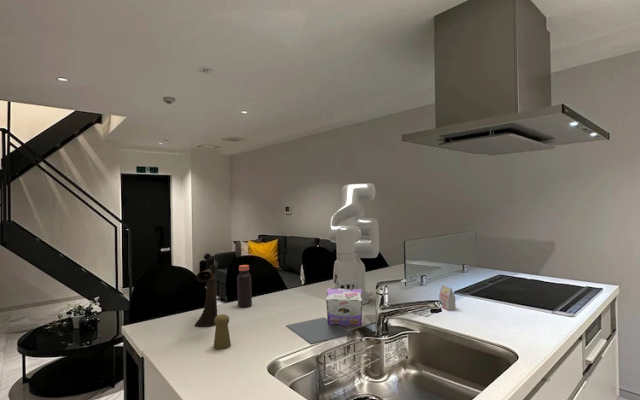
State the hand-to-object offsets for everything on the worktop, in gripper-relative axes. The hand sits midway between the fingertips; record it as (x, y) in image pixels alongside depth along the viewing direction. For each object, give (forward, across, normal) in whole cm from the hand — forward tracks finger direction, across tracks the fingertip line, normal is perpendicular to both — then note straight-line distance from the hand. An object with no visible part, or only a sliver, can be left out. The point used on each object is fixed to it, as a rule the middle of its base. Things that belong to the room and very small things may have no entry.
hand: (346, 301), depth 146 cm
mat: (+9, +14, 0) cm, 17 cm away
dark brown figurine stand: (+10, +50, -33) cm, 61 cm away
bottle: (+9, +28, -49) cm, 58 cm away
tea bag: (+9, -50, +9) cm, 51 cm away
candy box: (+7, +2, 0) cm, 8 cm away
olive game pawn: (+10, +50, -6) cm, 52 cm away
